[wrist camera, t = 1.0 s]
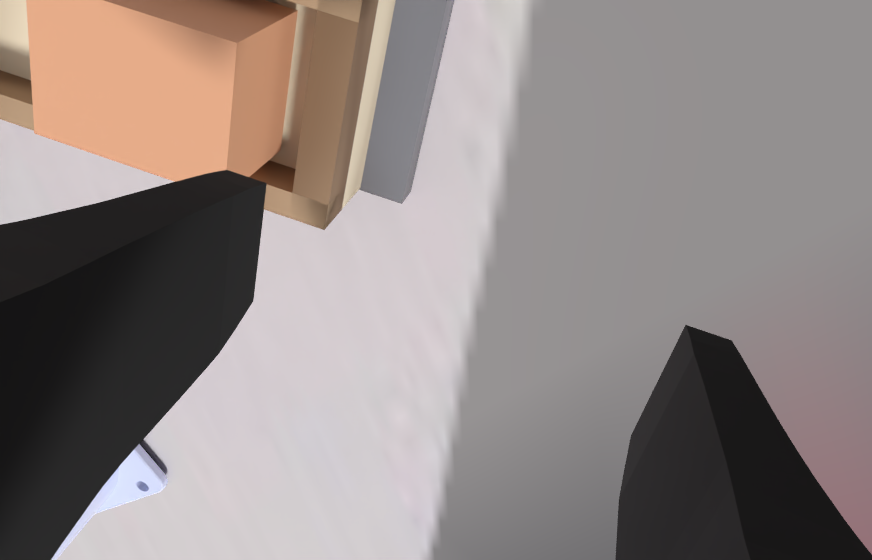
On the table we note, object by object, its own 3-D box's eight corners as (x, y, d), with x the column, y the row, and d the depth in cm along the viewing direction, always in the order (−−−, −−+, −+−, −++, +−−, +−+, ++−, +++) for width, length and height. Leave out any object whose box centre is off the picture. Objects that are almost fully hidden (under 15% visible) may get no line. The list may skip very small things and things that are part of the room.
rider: (297, 10, 16) (236, 43, 14) (280, 150, 17) (223, 198, 15) (110, -49, 16) (24, -26, 14) (111, 94, 18) (34, 133, 16)
